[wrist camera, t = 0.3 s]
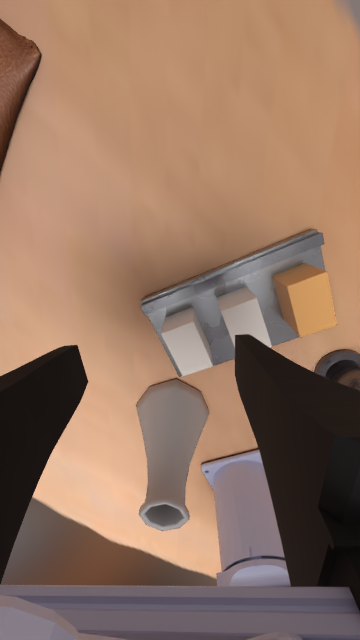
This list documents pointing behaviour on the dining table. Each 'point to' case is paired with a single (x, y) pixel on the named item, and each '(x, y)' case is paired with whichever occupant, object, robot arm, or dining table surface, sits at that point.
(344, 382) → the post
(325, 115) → the dining table surface
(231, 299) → the toggle mid
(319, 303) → the toggle orange
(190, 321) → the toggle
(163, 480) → the flask
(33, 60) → the brown tapered rod
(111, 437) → the dining table surface
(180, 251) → the dining table surface
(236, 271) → the panel
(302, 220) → the dining table surface
